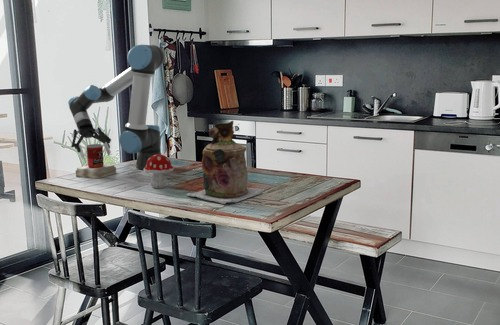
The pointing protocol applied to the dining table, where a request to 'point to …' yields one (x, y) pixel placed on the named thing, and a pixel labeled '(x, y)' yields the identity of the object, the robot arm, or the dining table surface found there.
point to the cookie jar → (224, 168)
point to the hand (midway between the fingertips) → (96, 155)
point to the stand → (95, 171)
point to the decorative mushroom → (158, 170)
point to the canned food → (95, 155)
